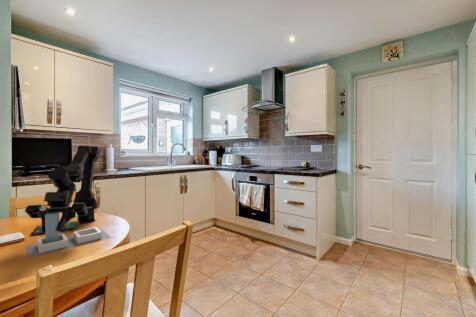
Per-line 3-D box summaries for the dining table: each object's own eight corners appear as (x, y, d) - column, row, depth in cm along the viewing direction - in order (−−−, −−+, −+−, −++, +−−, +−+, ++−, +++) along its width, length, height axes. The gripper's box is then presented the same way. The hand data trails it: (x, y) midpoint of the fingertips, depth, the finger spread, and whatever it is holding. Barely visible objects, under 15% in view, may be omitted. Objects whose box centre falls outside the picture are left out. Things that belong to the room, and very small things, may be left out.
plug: (58, 242, 86) (58, 211, 85) (60, 246, 83) (59, 214, 83) (44, 245, 83) (44, 213, 83) (46, 249, 80) (45, 216, 80)
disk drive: (30, 240, 92) (75, 233, 100) (30, 233, 92) (74, 226, 99) (36, 231, 101) (77, 225, 108) (36, 225, 101) (77, 220, 108)
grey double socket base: (102, 231, 100) (102, 224, 100) (111, 239, 92) (111, 231, 92) (25, 249, 82) (25, 239, 82) (27, 261, 74) (27, 250, 74)
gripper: (27, 183, 83) (6, 222, 73) (85, 182, 88) (73, 218, 78) (39, 199, 91) (22, 237, 81) (92, 198, 96) (82, 232, 86)
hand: (50, 231), depth 81 cm, fingers closed on plug, 4 cm apart
